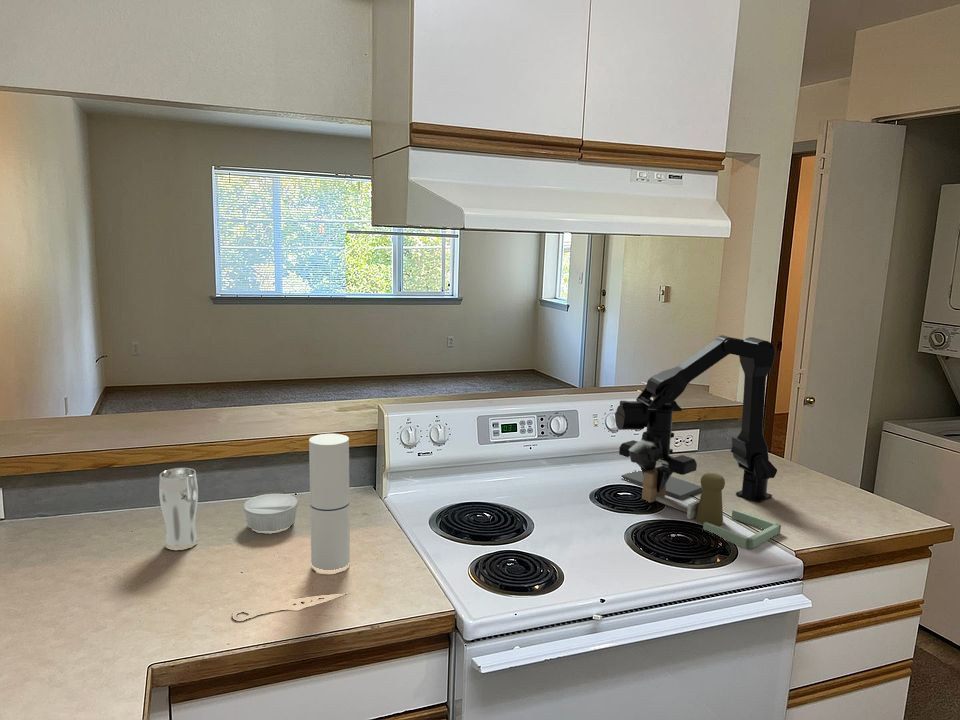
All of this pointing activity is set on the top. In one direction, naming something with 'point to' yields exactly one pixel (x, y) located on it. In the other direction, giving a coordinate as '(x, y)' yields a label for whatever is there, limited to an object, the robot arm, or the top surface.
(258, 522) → the ramekin
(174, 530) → the beer glass
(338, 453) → the cylindrical container
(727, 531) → the corral
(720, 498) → the olive pawn
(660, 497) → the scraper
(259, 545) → the top surface
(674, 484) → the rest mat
